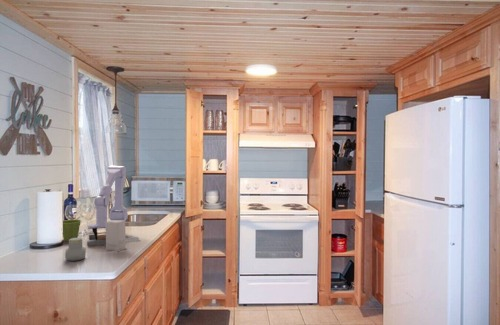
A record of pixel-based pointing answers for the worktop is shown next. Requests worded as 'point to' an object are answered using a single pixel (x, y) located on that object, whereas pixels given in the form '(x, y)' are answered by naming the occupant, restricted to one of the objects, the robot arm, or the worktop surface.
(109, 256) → the worktop surface
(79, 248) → the air freshener
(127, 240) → the coaster
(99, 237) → the box stamped
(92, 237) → the parts bin
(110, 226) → the skincare box
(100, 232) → the box plain
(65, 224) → the plant pot
